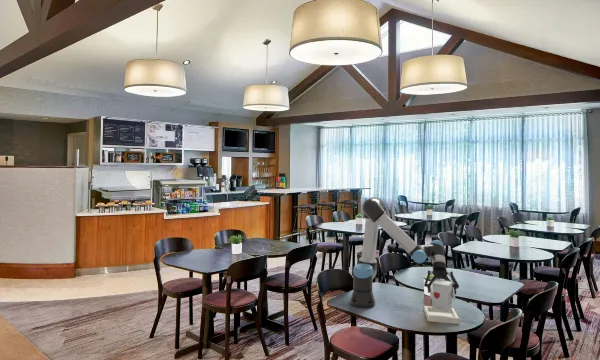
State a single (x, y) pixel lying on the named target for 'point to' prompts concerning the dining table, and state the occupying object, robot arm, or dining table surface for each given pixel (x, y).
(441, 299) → the supplement box
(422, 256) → the robot arm
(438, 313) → the stoneware dish
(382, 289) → the dining table surface
